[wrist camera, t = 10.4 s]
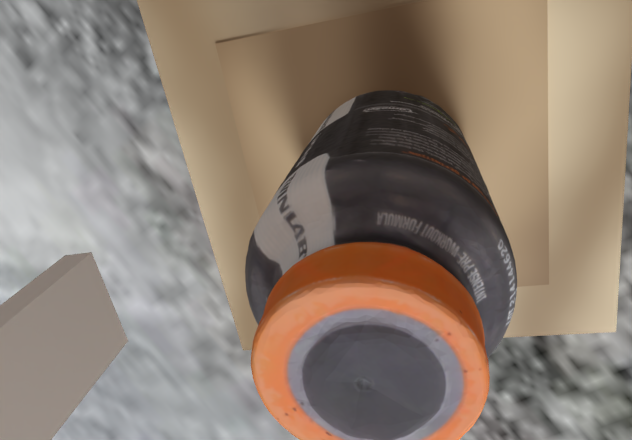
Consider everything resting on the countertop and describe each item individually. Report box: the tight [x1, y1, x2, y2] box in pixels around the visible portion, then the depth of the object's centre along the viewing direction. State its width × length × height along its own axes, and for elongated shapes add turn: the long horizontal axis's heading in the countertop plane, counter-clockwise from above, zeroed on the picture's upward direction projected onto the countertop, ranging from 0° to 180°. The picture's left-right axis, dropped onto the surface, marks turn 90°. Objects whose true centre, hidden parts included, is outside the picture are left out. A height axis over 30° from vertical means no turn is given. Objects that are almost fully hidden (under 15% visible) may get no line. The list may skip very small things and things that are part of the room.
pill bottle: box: [245, 90, 517, 440], centre depth 13 cm, size 6×6×11 cm
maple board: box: [137, 0, 632, 350], centre depth 18 cm, size 16×16×1 cm
